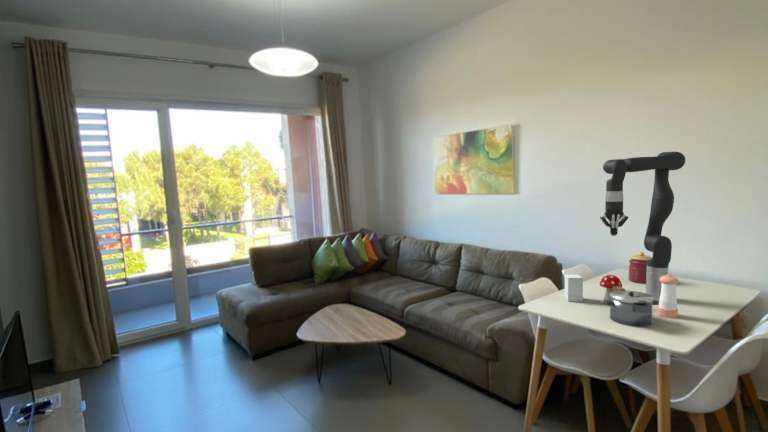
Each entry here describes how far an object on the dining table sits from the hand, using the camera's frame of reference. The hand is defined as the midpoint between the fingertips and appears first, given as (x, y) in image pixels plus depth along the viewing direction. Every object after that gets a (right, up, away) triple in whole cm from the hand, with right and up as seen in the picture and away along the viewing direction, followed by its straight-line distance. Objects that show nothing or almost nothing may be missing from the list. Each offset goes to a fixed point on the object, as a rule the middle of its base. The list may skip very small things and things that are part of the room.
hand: (613, 235), depth 197 cm
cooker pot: (-3, -37, -19) cm, 42 cm away
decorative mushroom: (0, -35, +4) cm, 35 cm away
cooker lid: (-3, -27, -16) cm, 32 cm away
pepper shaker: (+17, -36, -14) cm, 42 cm away
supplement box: (-14, -35, +13) cm, 40 cm away
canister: (+41, -30, +42) cm, 66 cm away
